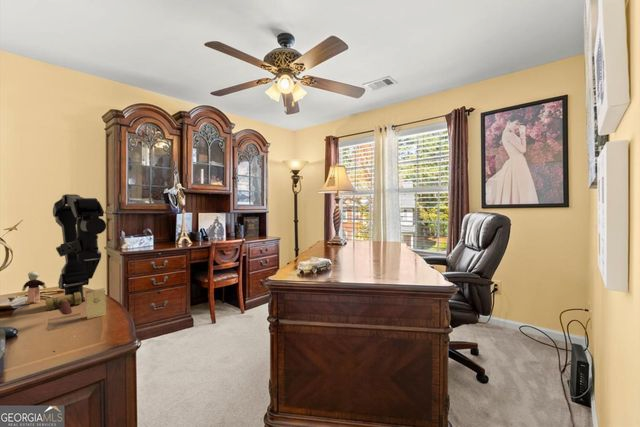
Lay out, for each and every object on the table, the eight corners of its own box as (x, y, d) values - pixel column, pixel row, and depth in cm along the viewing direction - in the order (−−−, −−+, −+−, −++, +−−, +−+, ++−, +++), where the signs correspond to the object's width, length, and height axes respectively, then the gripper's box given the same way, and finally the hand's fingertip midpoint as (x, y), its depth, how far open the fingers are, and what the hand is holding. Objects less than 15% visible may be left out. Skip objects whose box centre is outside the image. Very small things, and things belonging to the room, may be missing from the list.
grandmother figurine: (19, 305, 115) (18, 273, 115) (23, 303, 118) (21, 271, 118) (46, 302, 119) (44, 271, 118) (48, 299, 122) (47, 269, 122)
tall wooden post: (86, 320, 98) (85, 291, 98) (105, 316, 102) (104, 288, 101) (87, 323, 96) (86, 293, 95) (106, 319, 99) (105, 290, 99)
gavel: (87, 307, 103) (48, 316, 96) (87, 320, 103) (49, 329, 96) (79, 290, 117) (45, 296, 110) (80, 301, 118) (46, 308, 111)
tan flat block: (48, 323, 96) (47, 319, 96) (81, 317, 102) (81, 312, 102) (46, 336, 87) (46, 331, 87) (83, 328, 92) (82, 323, 92)
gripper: (57, 233, 107) (59, 275, 108) (56, 236, 93) (59, 285, 94) (95, 231, 115) (97, 271, 115) (100, 234, 101) (102, 279, 101)
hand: (89, 276), depth 106 cm, fingers open, 9 cm apart
